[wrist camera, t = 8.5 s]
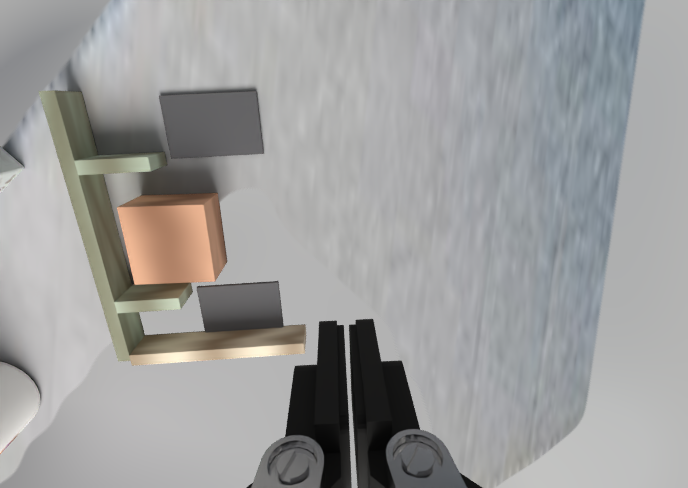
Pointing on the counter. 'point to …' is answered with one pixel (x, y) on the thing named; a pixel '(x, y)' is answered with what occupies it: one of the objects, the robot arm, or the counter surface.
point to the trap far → (240, 306)
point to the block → (174, 238)
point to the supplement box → (8, 169)
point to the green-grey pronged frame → (109, 260)
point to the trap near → (212, 124)
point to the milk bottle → (15, 402)
